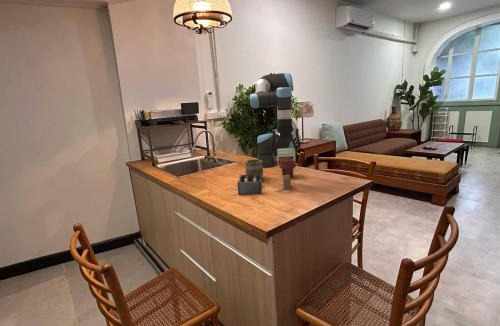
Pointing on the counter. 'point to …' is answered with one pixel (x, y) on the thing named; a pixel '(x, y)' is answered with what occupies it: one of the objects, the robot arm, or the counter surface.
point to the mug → (254, 167)
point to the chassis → (249, 184)
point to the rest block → (287, 182)
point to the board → (286, 152)
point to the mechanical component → (287, 166)
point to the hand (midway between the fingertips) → (286, 160)
